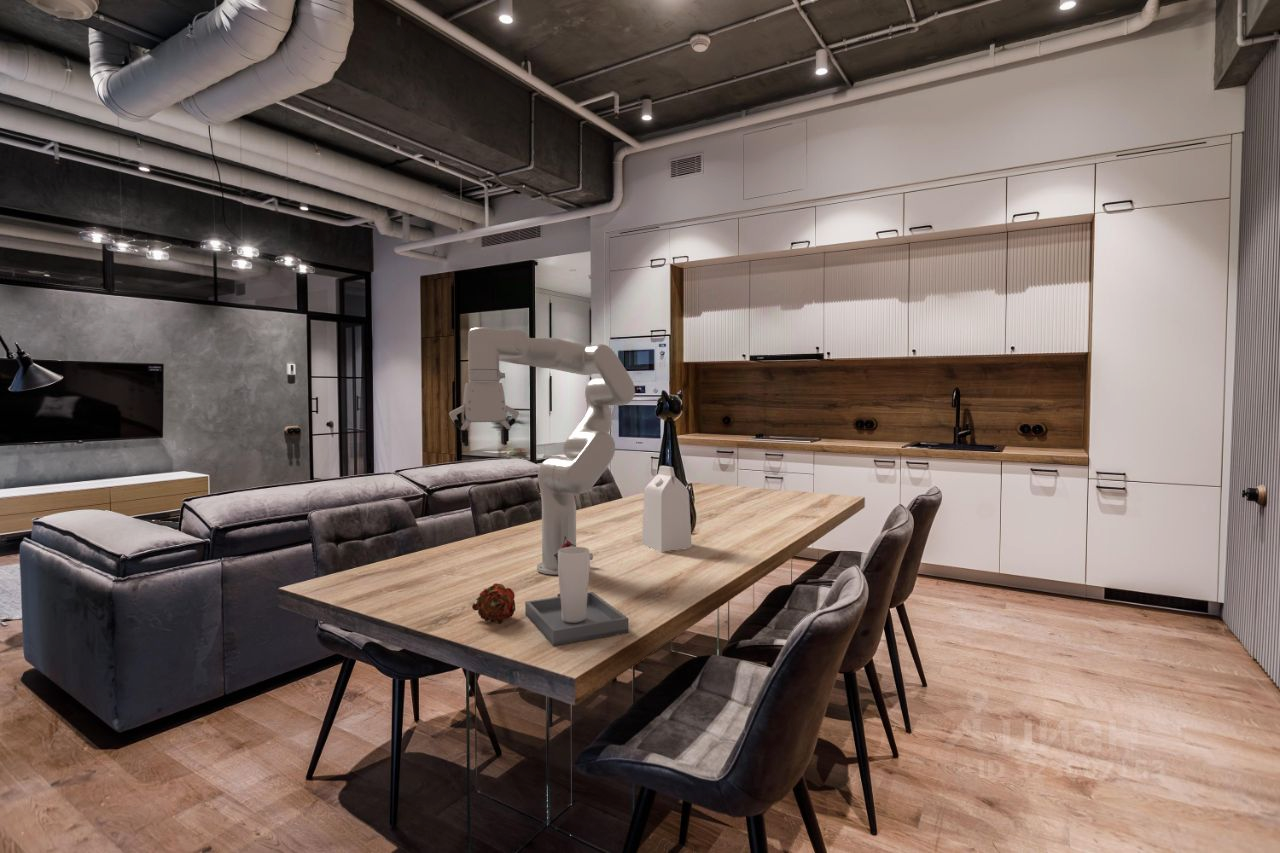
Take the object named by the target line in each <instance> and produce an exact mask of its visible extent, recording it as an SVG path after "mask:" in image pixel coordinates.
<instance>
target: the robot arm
mask: <svg viewBox="0 0 1280 853" xmlns="http://www.w3.org/2000/svg"><path fill="white" fill-rule="evenodd" d="M467 338H468V339H467V344H468V345H467V347H468V348H467V349H468V350H467V351H468V353H467V354H468V356H467V357H468V382H465V384H464V390H463V400H462V402H463V404H462V405H461V406H459V407H457V408H455V409H453V410H452V411H450V412H449V413H448V415H449V417H450V419H451V420H452V423H453V424H454V425H455V426H456V427H457V428H458V429H459V430H460V443H461V444H463V446H464V447H468V446H469V430H468V428H469V426H470V424H472V423H499V424H500V425H501V428H500V429H501V430H500V438H501V439H500V440H501V441H500V444H501V445H504V446H507V445H508V442H509V440H510V437H509V436H510V433H509V432H510V431H509V430H510V429H511V427H512V426H513V425H514V423H516V420H517V418H518V417H519V414H520V412H519V411H518V410H516V409H515V408H512V407H510V406H508V405H506V398H505V391H504V386H503V382H500V381H501V379H506V373H505V372H501V370H500V362H505V363H509V364H516V365H522V366H530V367H536V368H540V369H550V370H554V371H555V370H556V371H561V372H565V373H571V374H576V375H580V376H581V375H582V376H595V375H597V377H593V378H591V379H590V380H589V381H588V383H587V384H586V386H585V392H584V394H585V396H584V397H585V402H586V412H585V415H584V417H583V418H582V420H580V422H579V423H578V425H576V427H575V428H574V429H573V431H572V432H571V433H570V434H569V435H568V437H567V439H566V440H565V441H564V444H563V453H564V456H565V457H564V456H552V457H549V458H546V459H544V461H542V463H541V464H540V465H539V468H538V472H537V481H538V486H539V491H540V497H541V498H540V499H541V543H542V544H541V545H542V546H541V552H542V553H541V555H542V556H541V557H542V560H541V561H542V562H540V563H538V564H537V566H536V570H537V572H538V573H541V574H545V575H558V566H557V560H556V557H555V556H553V555H555V554H557V553H558V550H559V549H561V548H562V545H563V544H566V542H567V541H569V542H571V544H573V545H575V546H576V547H577V506H576V500H575V499H576V498H575V496H574V495H582V494H583V495H584V494H585V493H587V492H589V491H590V490H591V489H592V488H593V487H594V485H595V484H596V483H597V481H598V480H599V479H600V477H601V476H602V475H603V473H604V472H605V471H606V469H607V468H608V466H609V465H610V463H612V460H613V459H614V456H615V452H616V442H615V439H614V437H613V436H612V435H611V434H610V433H609V432H610V430H611V428H612V425H613V422H612V419H613V418H612V414H611V408H610V406H625V405H627V404H630V403H631V402H632V401H633V400H634V398H635V397H634V396H635V393H636V389H635V384H634V381H633V380H632V377H631V376H630V374H629V372H628V371H627V369H626V368H625V367H624V364H623V362H622V361H621V359H620V358H619V357H618V355H617V353H615V351H613V349H612V348H611V347H610V346H609V345H606V344H600V343H599V344H592V345H591V344H590V345H589V344H588V345H587V344H581V343H578V342H577V343H576V342H572V341H568V340H564V339H561V338H557V337H534V338H533V337H530V335H528V333H527V332H525V330H522V329H519V328H505V329H504V328H503V329H496V328H493V327H486V326H485V327H482V326H481V327H480V326H479V327H477V326H476V327H473V328H470V329H469V330H468V333H467ZM598 375H600V376H599V377H598ZM461 413H462V419H463V421H462V422H461V421H460V420H459V419H458V416H457V415H459V414H461ZM507 413H509V414H511V416H510V418H509V419H508V420H506V416H507ZM565 536H566V539H565V538H564V537H565ZM564 539H565V542H564ZM566 540H567V541H566ZM589 555H590V561H593V559H594V556H593V553H592V552H589Z"/></svg>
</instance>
